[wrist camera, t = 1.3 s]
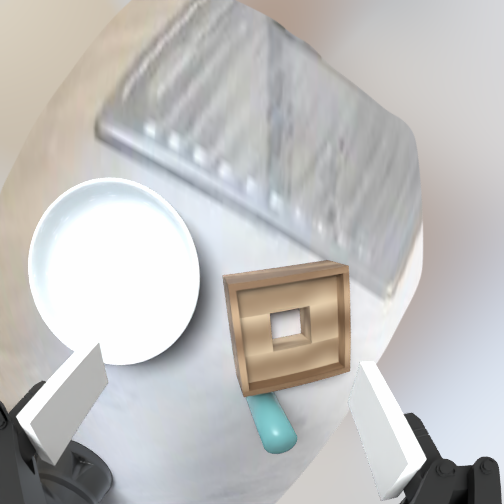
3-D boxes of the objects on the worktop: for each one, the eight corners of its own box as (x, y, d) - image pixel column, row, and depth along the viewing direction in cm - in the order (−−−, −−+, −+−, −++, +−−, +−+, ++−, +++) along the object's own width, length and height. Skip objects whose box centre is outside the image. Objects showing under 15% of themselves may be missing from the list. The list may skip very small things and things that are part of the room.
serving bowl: (191, 177, 36) (191, 166, 30) (207, 337, 38) (210, 358, 32) (45, 197, 32) (20, 192, 26) (66, 345, 35) (48, 365, 28)
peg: (272, 400, 41) (297, 449, 29) (246, 405, 40) (265, 456, 29) (270, 378, 41) (296, 426, 29) (243, 384, 40) (262, 434, 28)
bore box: (331, 354, 42) (350, 371, 36) (236, 375, 40) (243, 397, 34) (327, 260, 41) (348, 265, 35) (222, 275, 38) (228, 284, 32)
